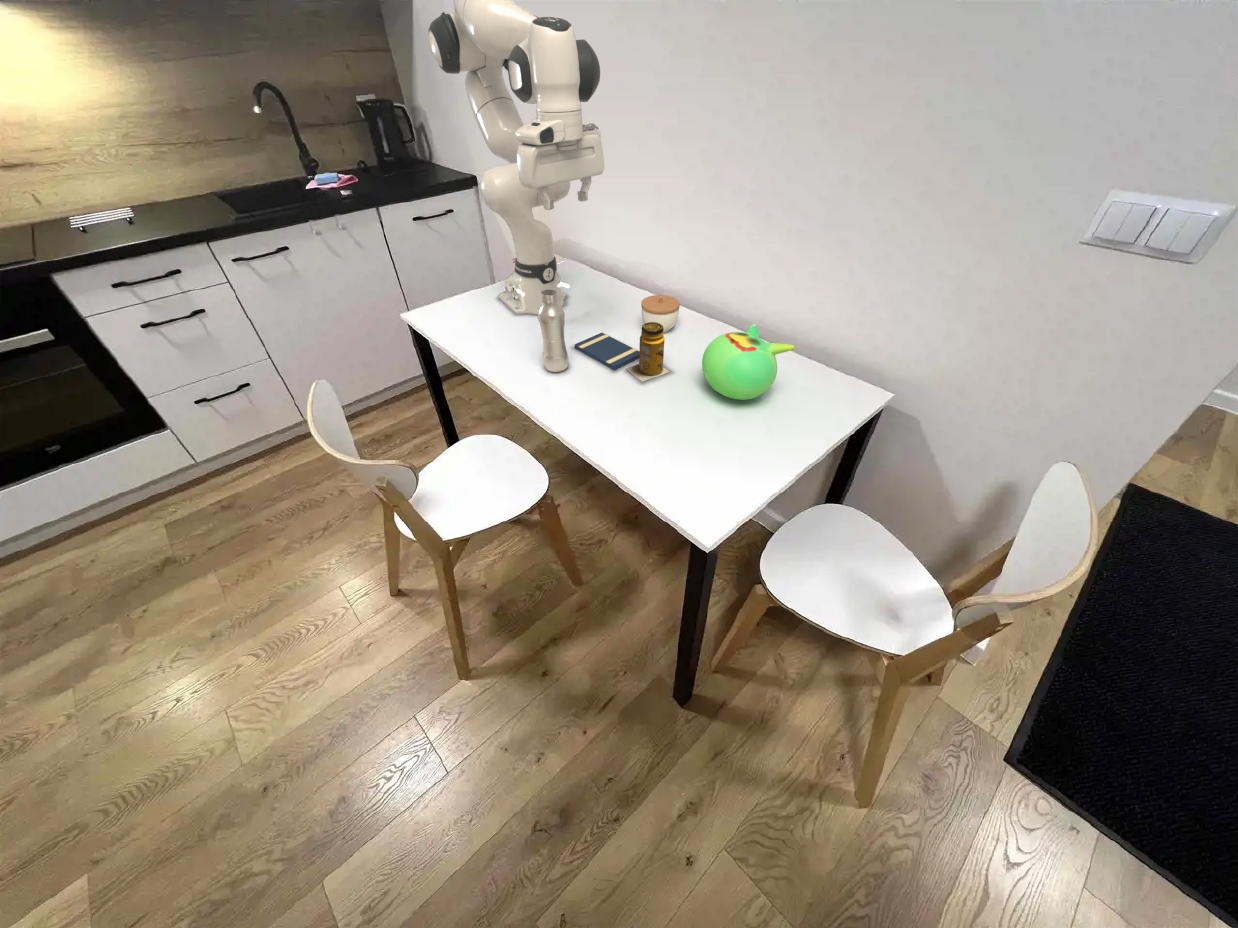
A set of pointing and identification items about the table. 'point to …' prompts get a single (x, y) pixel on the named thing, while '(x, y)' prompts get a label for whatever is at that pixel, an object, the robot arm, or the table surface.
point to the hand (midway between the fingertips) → (566, 205)
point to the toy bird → (741, 364)
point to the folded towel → (608, 351)
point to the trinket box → (660, 310)
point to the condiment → (650, 353)
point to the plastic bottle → (552, 332)
